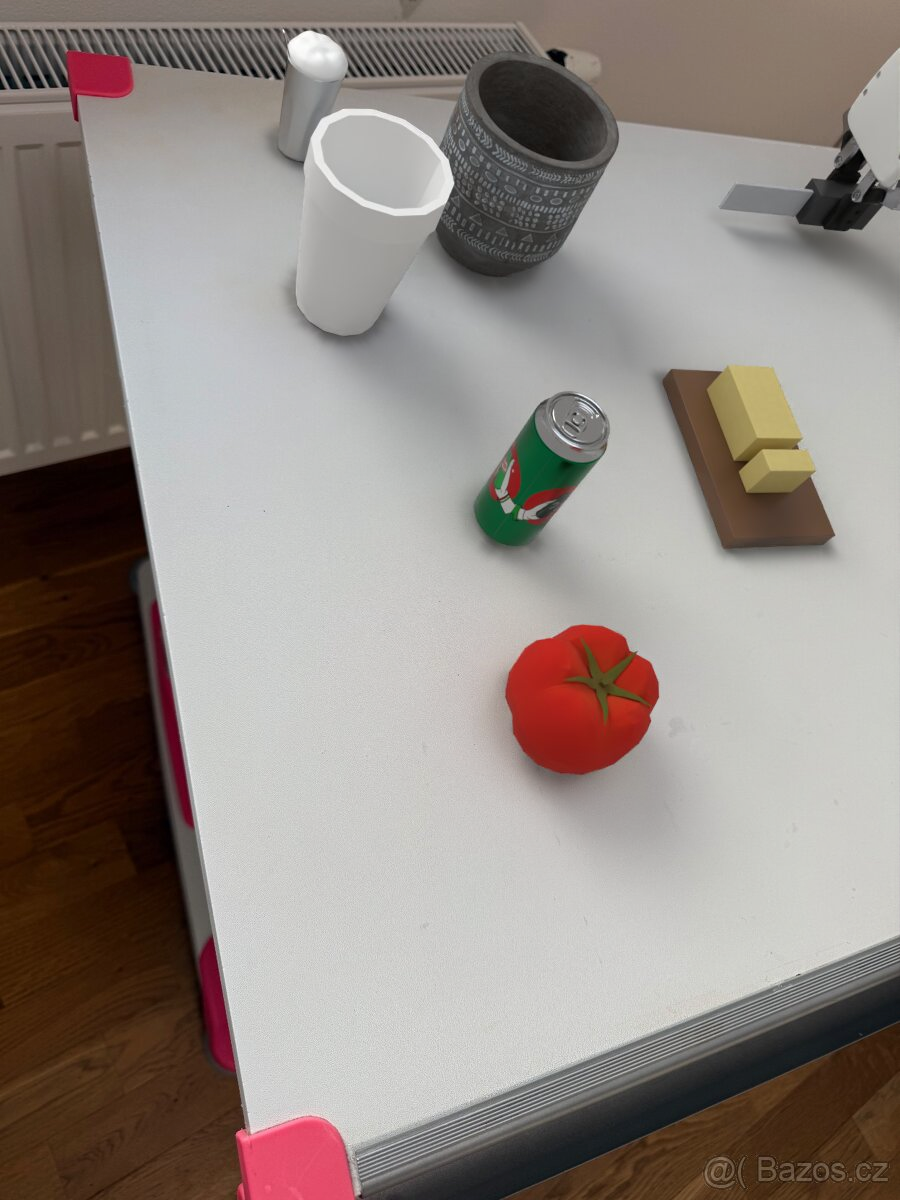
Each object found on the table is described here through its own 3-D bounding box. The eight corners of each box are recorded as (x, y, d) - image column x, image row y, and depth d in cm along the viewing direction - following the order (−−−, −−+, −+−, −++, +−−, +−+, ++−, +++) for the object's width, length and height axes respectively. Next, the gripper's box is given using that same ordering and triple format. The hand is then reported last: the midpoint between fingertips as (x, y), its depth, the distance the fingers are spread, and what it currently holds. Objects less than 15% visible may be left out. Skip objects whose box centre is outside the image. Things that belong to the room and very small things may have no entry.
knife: (853, 212, 99) (876, 185, 96) (862, 230, 98) (885, 203, 95) (715, 198, 93) (735, 168, 90) (723, 217, 92) (743, 187, 89)
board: (757, 384, 85) (767, 373, 83) (823, 544, 79) (835, 535, 77) (661, 380, 81) (671, 368, 80) (723, 548, 75) (734, 538, 73)
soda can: (548, 517, 70) (628, 419, 60) (517, 563, 67) (595, 469, 57) (491, 476, 70) (562, 371, 60) (458, 521, 67) (526, 419, 57)
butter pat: (782, 471, 78) (807, 449, 76) (791, 492, 78) (817, 470, 75) (737, 471, 77) (762, 448, 74) (746, 493, 76) (770, 471, 73)
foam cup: (250, 270, 71) (283, 119, 60) (352, 242, 76) (400, 98, 65) (319, 367, 69) (366, 230, 58) (420, 333, 74) (480, 200, 63)
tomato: (507, 792, 60) (558, 756, 53) (479, 659, 63) (524, 609, 57) (637, 779, 63) (700, 743, 57) (604, 653, 67) (659, 606, 60)
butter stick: (749, 391, 82) (773, 366, 79) (778, 461, 79) (803, 438, 76) (706, 389, 80) (728, 364, 77) (733, 461, 77) (757, 437, 74)
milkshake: (251, 126, 78) (273, 8, 70) (313, 127, 80) (342, 13, 72) (269, 168, 77) (293, 53, 68) (331, 168, 79) (362, 56, 71)
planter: (384, 201, 79) (433, 60, 68) (493, 173, 85) (554, 39, 75) (470, 312, 77) (534, 184, 66) (575, 274, 83) (650, 152, 72)
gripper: (1041, 118, 79) (888, 280, 95) (958, -9, 86) (827, 162, 101) (974, 107, 77) (827, 276, 92) (894, -23, 83) (769, 155, 99)
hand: (829, 215), depth 97 cm, fingers closed on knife, 2 cm apart
